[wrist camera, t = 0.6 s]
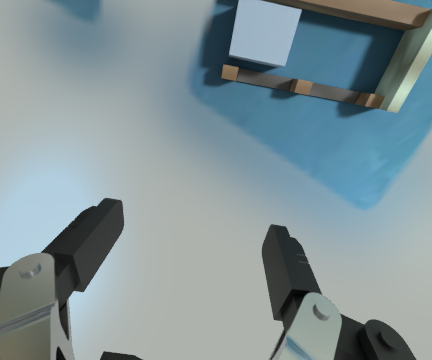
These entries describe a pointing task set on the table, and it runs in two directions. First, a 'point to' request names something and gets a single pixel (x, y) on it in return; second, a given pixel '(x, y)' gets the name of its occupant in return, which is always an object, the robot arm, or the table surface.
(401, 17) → the lane
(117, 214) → the robot arm
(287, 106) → the table surface
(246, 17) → the brick
